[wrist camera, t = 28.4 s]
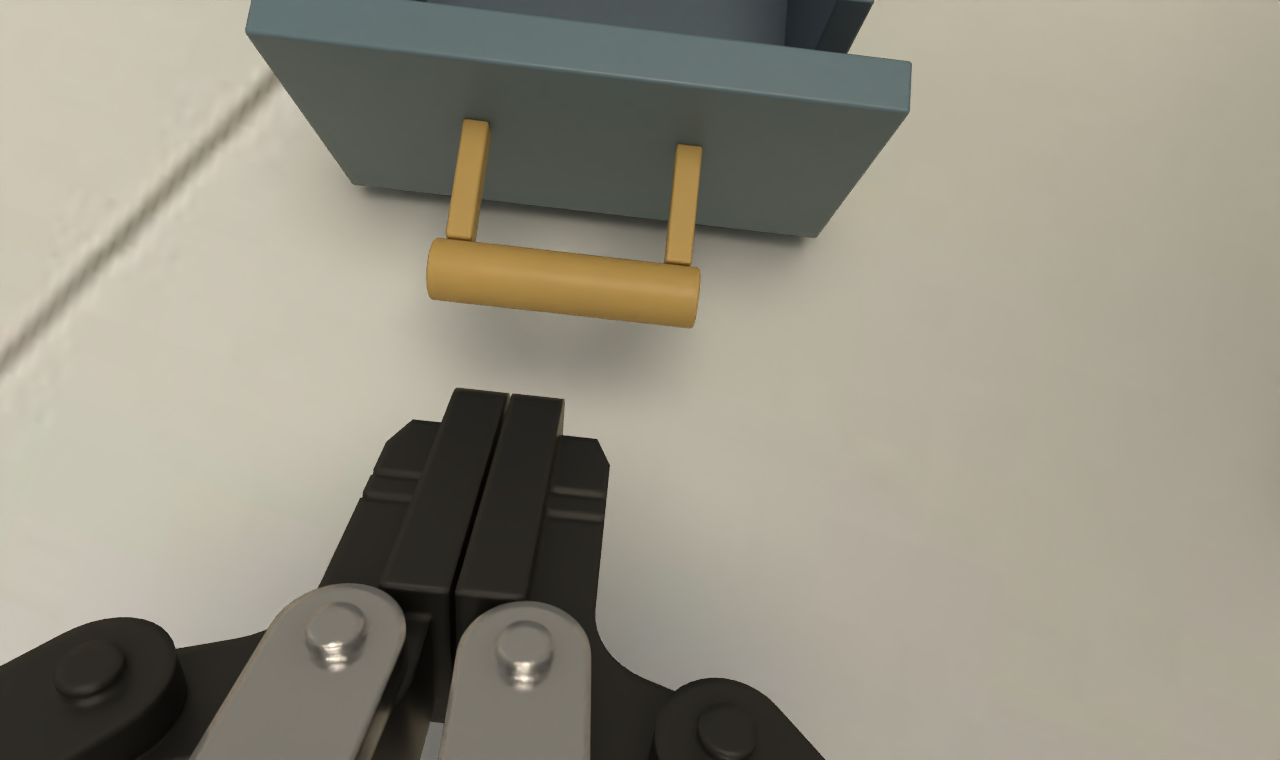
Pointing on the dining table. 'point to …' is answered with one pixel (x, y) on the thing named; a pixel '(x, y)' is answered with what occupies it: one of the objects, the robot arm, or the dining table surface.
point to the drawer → (591, 125)
